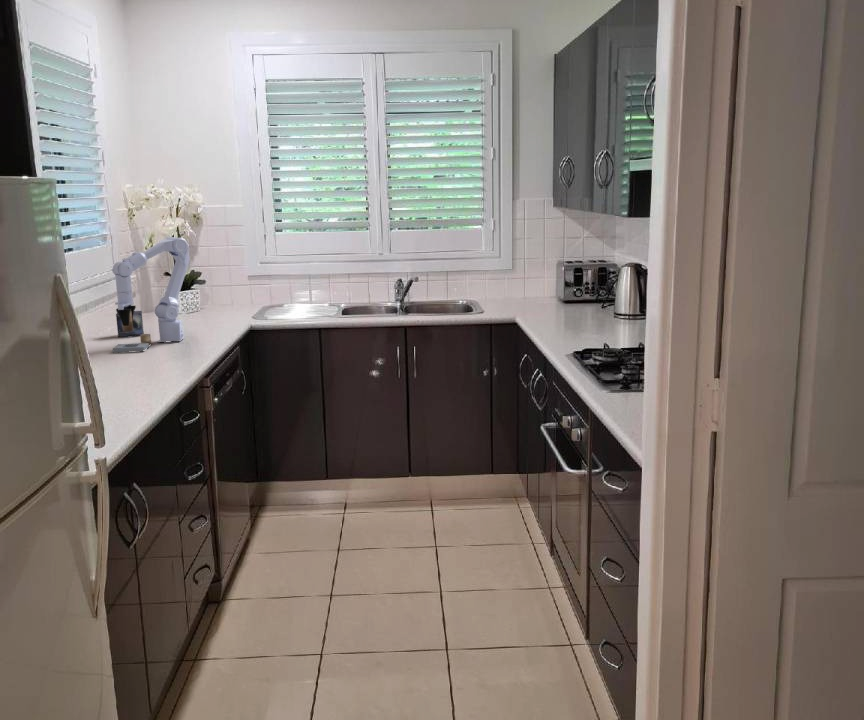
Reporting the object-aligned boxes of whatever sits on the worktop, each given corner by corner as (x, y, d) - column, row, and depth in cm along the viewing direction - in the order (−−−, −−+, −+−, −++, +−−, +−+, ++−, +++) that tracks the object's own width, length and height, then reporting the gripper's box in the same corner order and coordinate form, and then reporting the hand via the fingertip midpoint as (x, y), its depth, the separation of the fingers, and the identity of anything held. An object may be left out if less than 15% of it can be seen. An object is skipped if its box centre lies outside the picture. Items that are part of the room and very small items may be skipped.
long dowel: (134, 329, 336) (132, 310, 335) (131, 331, 333) (129, 312, 331) (124, 329, 336) (122, 310, 334) (121, 331, 332) (119, 312, 331)
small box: (117, 337, 357) (115, 314, 355) (119, 335, 363) (116, 311, 361) (143, 336, 360) (140, 312, 357) (144, 333, 366) (141, 310, 363)
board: (149, 347, 334) (148, 343, 333) (144, 352, 326) (143, 347, 326) (119, 348, 333) (118, 344, 332) (113, 353, 325) (112, 348, 325)
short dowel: (152, 344, 341) (151, 333, 340) (150, 346, 337) (149, 335, 336) (142, 344, 341) (141, 334, 340) (140, 346, 337) (139, 336, 336)
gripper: (119, 289, 338) (123, 321, 341) (108, 294, 324) (112, 328, 327) (137, 289, 338) (140, 321, 341) (126, 293, 324) (130, 327, 327)
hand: (127, 324), depth 334 cm, fingers closed on long dowel, 4 cm apart
